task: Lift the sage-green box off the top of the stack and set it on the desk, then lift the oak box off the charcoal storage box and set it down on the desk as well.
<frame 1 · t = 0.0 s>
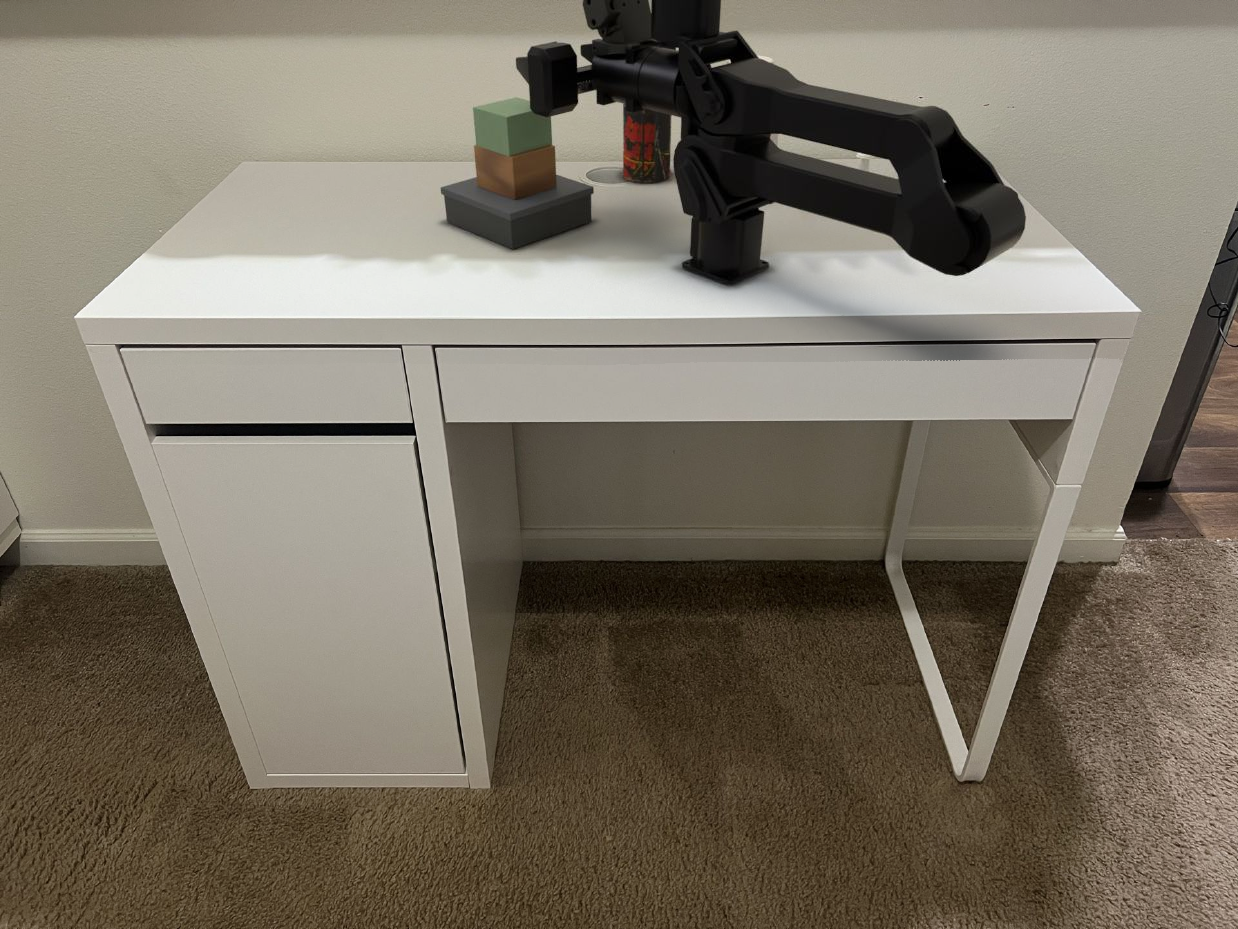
hand: (550, 56, 98), 17 cm above the table, tool horizontal, fingers open, 9 cm apart
storage box: (519, 222, 104), on the table, touching oak box
oak box: (517, 186, 101), point 4 cm above the table, touching sage box, storage box
deodorant: (646, 177, 117), on the table
pill bottle: (740, 191, 113), on the table
sage box: (514, 145, 99), point 8 cm above the table, touching oak box
chess piece: (858, 205, 109), on the table
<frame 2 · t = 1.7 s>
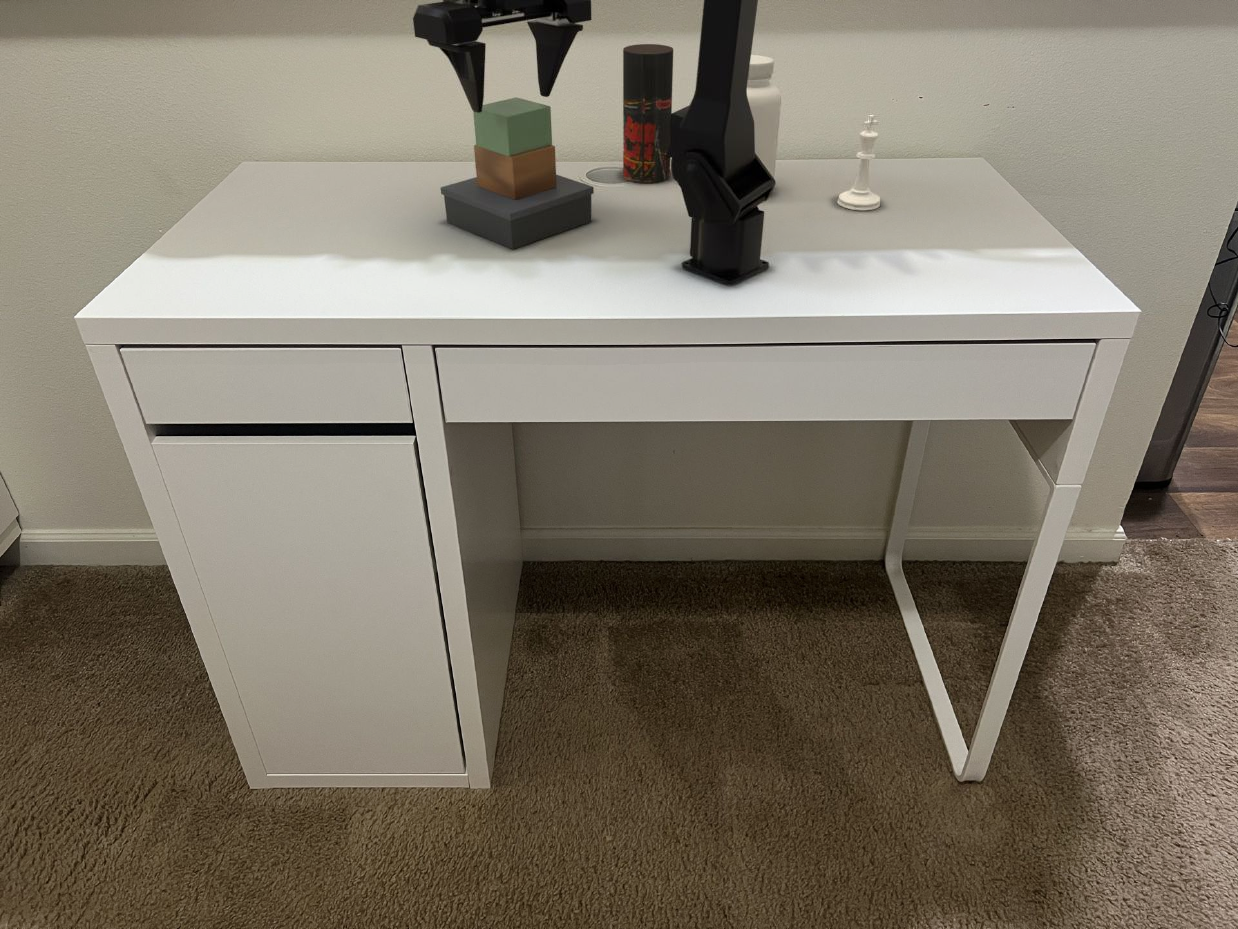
hand: (511, 103, 96), 13 cm above the table, tool pointing down, fingers open, 9 cm apart
nothing on the table moved.
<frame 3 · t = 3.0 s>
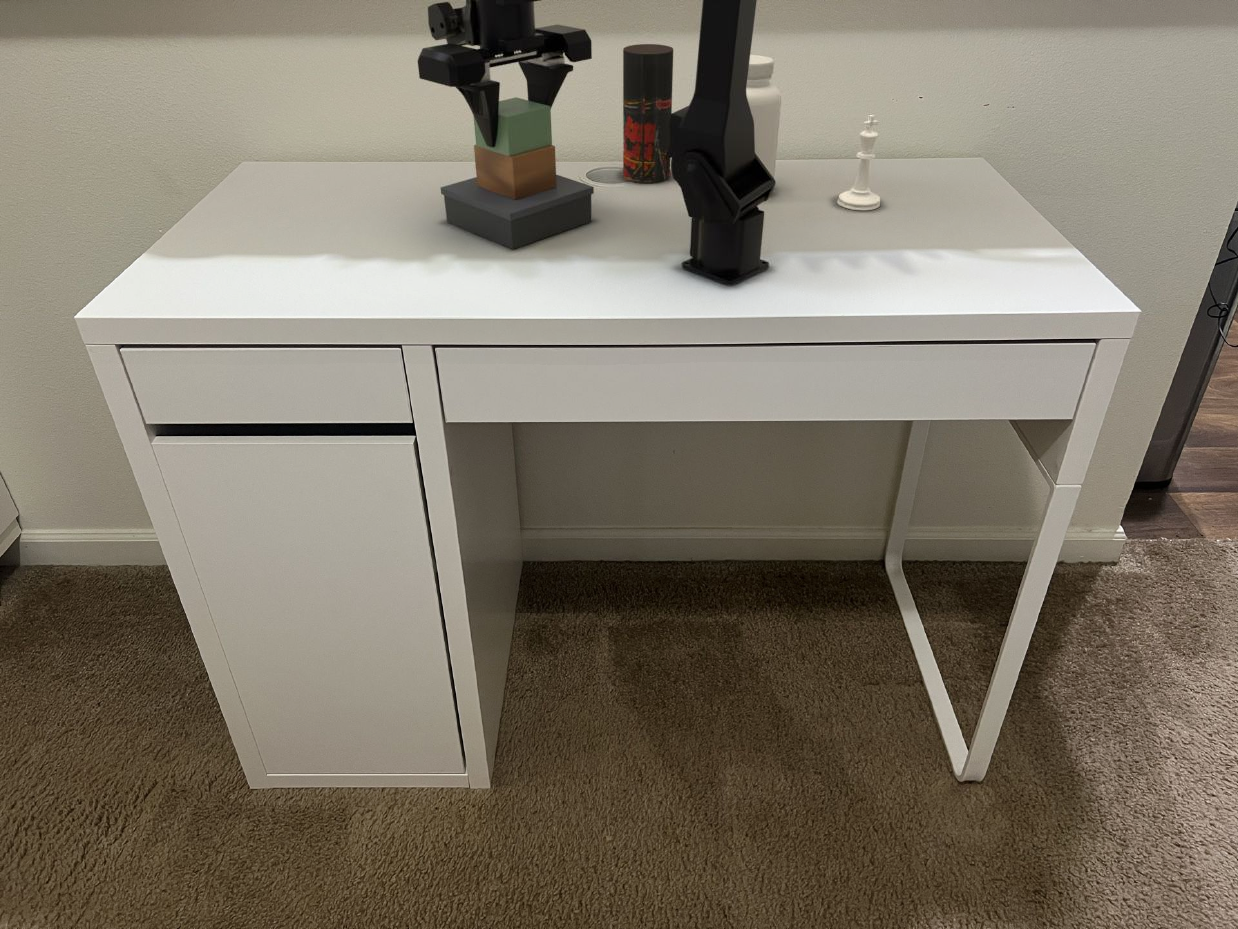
hand: (514, 140, 99), 9 cm above the table, tool pointing down, fingers closed on sage box, 6 cm apart
sage box: (514, 145, 99), point 8 cm above the table, touching gripper, oak box
everything else where it was.
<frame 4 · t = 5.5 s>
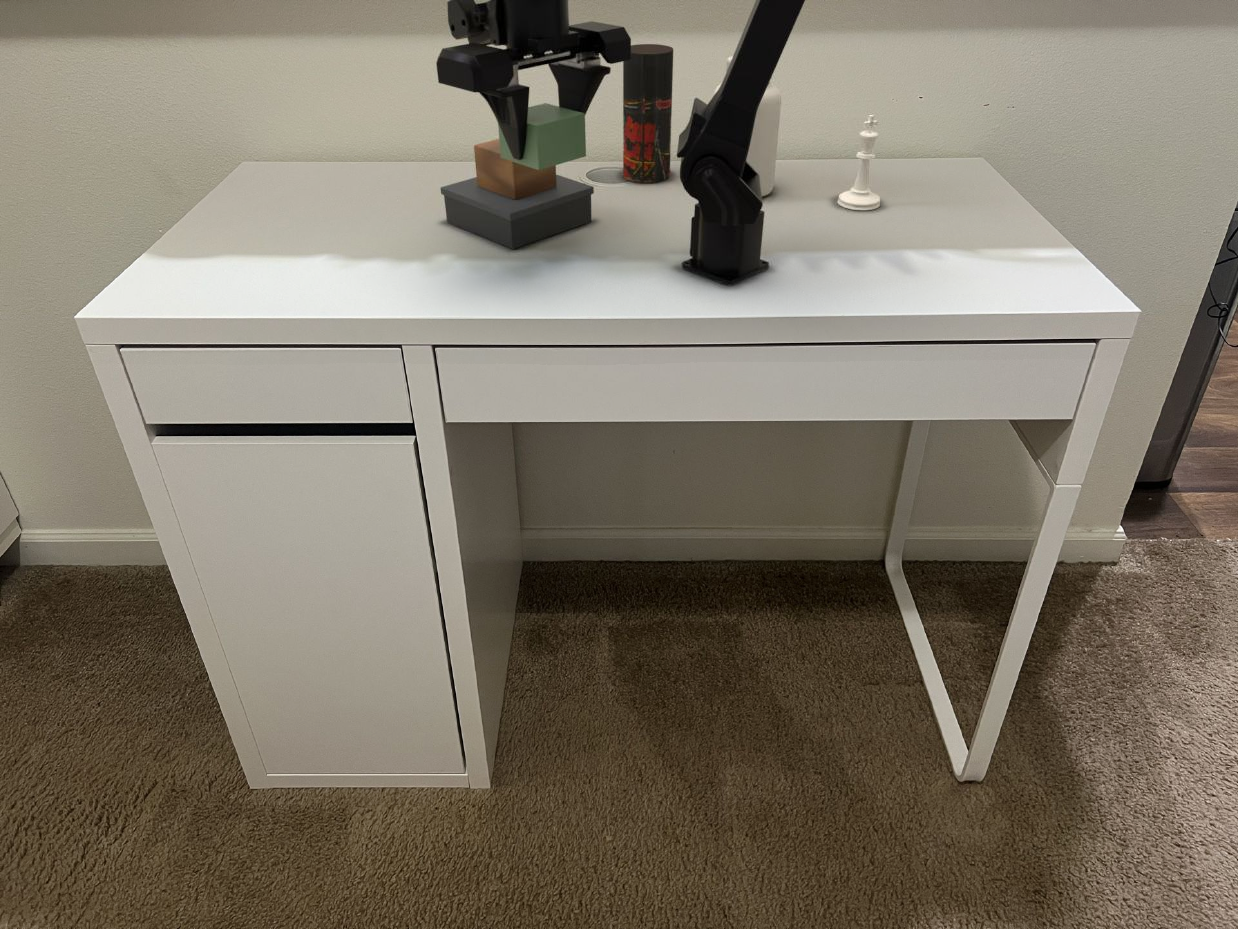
hand: (543, 151, 88), 11 cm above the table, tool pointing down, fingers closed on sage box, 6 cm apart
oak box: (517, 186, 101), point 4 cm above the table, touching storage box
sage box: (543, 157, 88), point 11 cm above the table, touching gripper
everything else where it was.
when the fingers open (0 cm above the table, at t = 8.4 s): sage box stays where it is, on the table.
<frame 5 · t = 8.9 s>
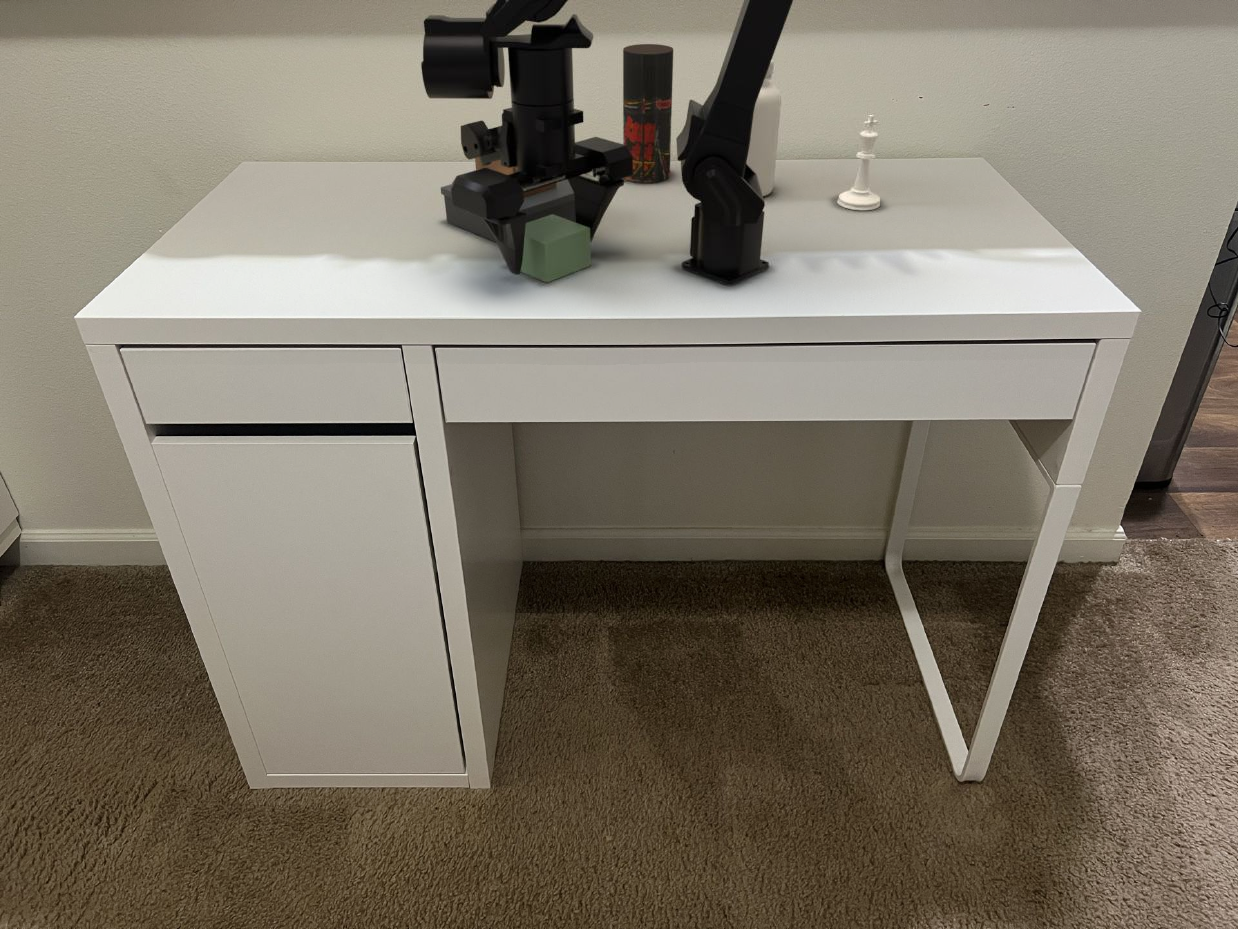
hand: (550, 260, 93), 1 cm above the table, tool pointing down, fingers open, 9 cm apart
sage box: (550, 266, 93), on the table
everything else where it was.
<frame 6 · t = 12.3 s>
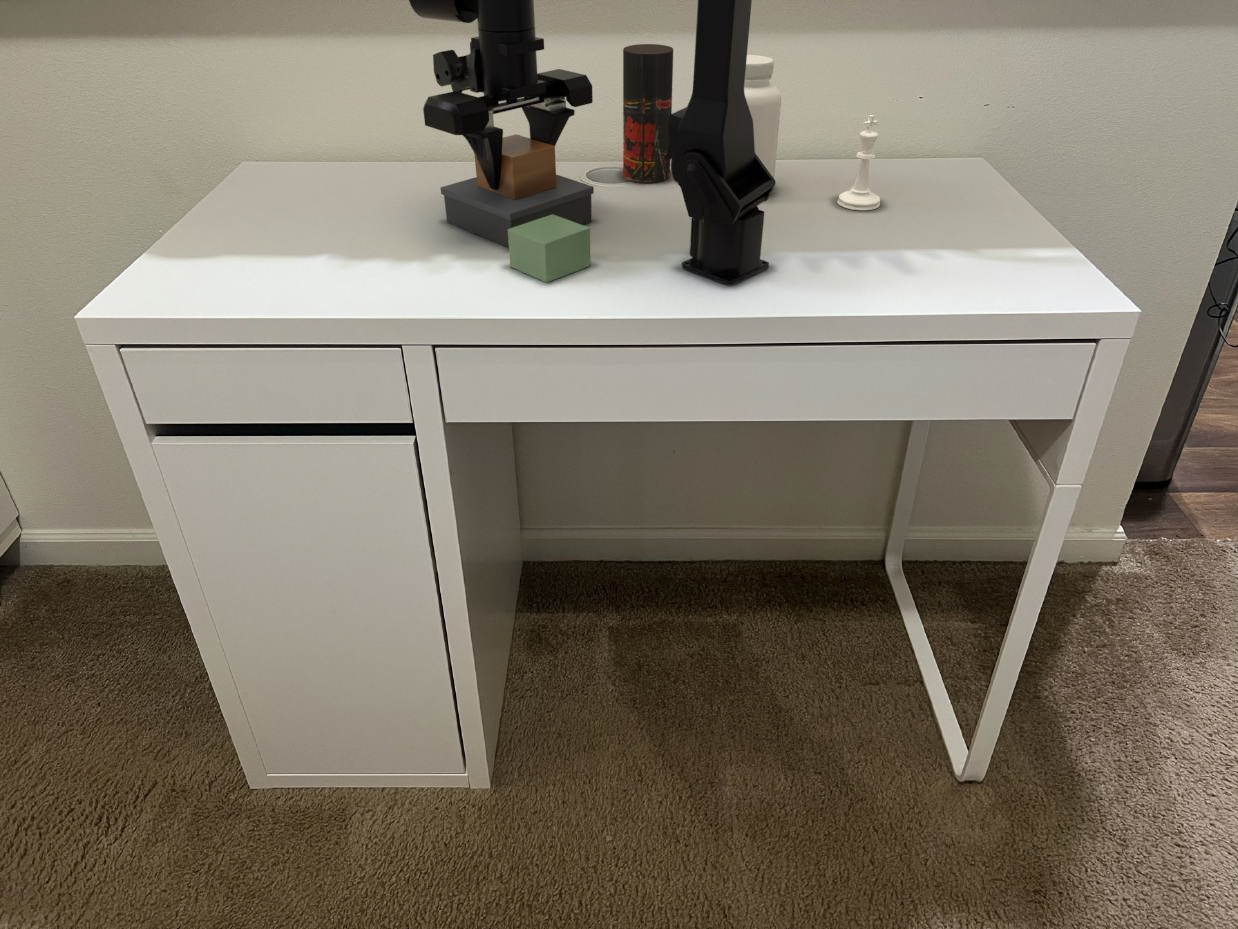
hand: (516, 182, 101), 5 cm above the table, tool pointing down, fingers closed on oak box, 6 cm apart
oak box: (516, 186, 101), point 4 cm above the table, touching gripper, storage box
everything else where it was.
when the fingers open (1 cm above the table, at t = 18.4 s): oak box stays where it is, on the table.
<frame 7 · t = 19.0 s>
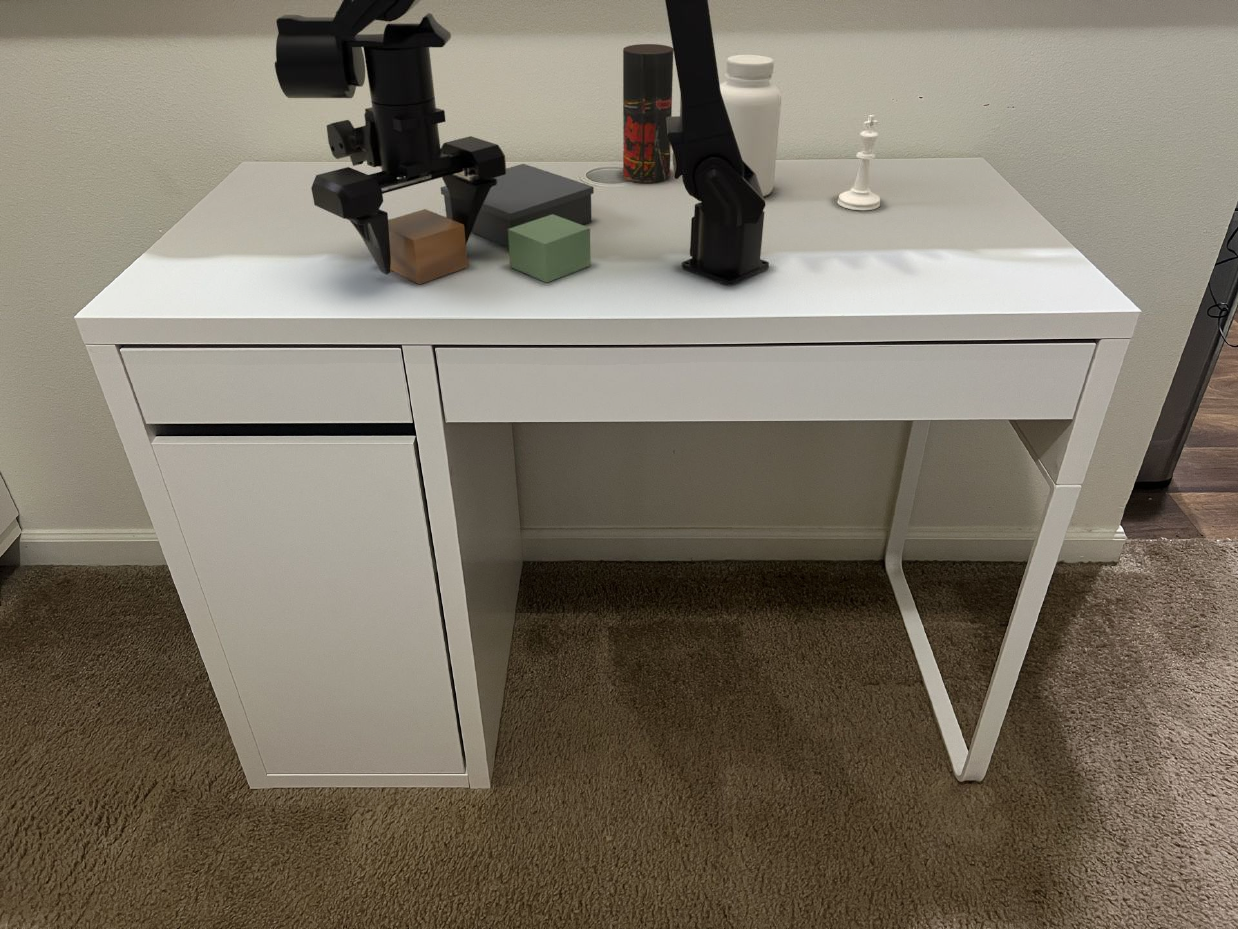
hand: (424, 259, 93), 1 cm above the table, tool pointing down, fingers open, 9 cm apart
storage box: (519, 221, 104), on the table
oak box: (425, 266, 93), on the table
everything else where it was.
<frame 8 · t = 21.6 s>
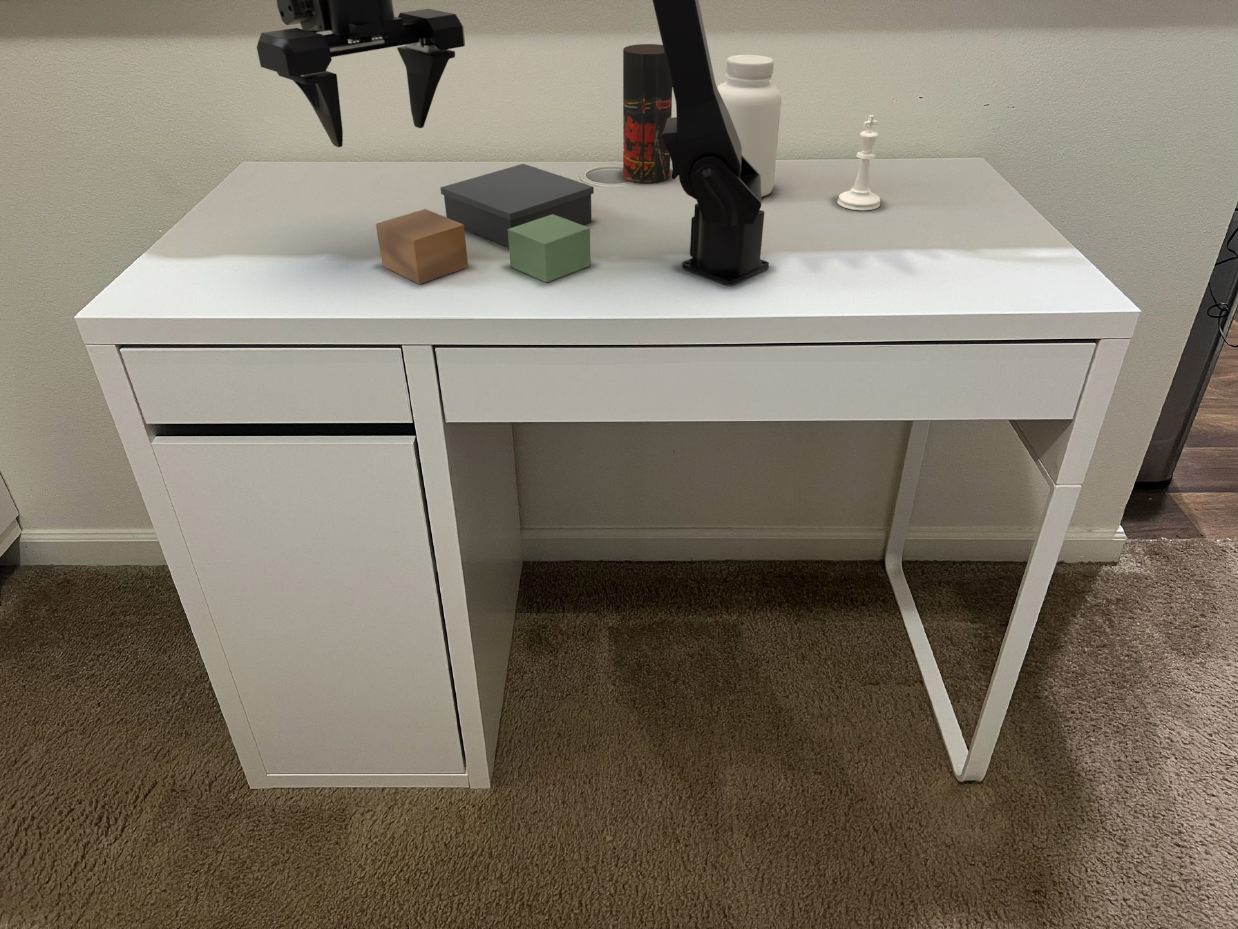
hand: (379, 136, 89), 12 cm above the table, tool pointing down, fingers open, 9 cm apart
nothing on the table moved.
at the end: sage box inside the target area (0.0 cm from its centre), on the table; oak box inside the target area (0.0 cm from its centre), on the table; storage box moved 0.0 cm from its start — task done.
